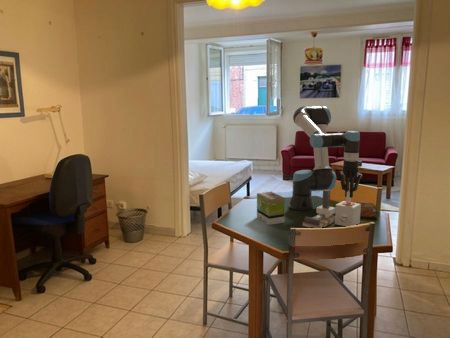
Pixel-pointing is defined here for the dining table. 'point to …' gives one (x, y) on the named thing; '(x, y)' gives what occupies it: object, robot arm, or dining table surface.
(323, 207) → the grey white tall piece
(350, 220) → the cabinet
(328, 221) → the rail board
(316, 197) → the dining table surface
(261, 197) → the tea box
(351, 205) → the button
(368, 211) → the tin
